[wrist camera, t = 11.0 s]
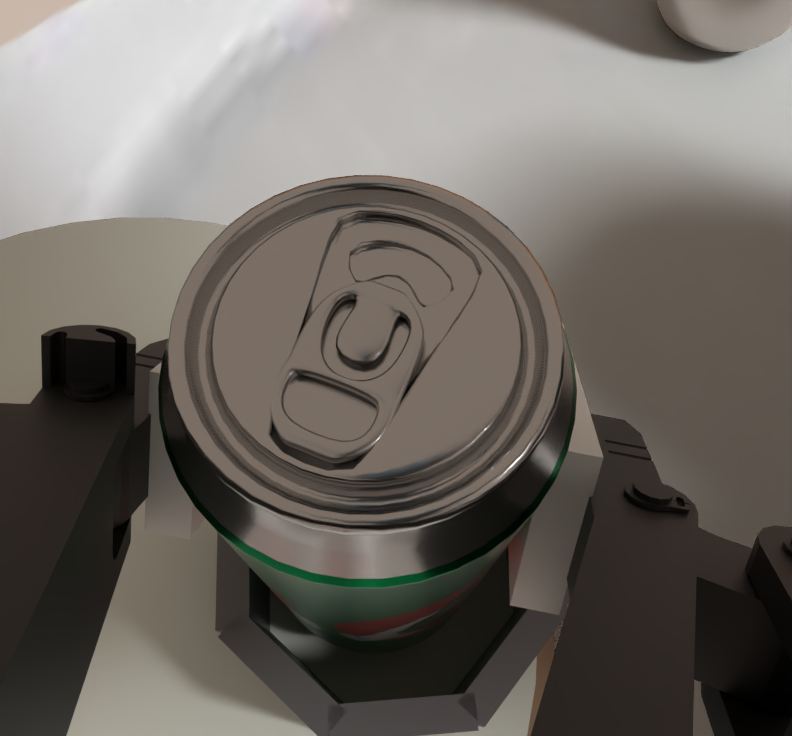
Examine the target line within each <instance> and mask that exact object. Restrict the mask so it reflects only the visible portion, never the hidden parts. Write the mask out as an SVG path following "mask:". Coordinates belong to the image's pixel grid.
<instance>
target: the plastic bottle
mask: <svg viewBox="0 0 792 736" xmlns="http://www.w3.org/2000/svg"><path fill="white" fill-rule="evenodd" d="M656 1H657V4H658V6H659V9H660V12H661V14H662V16H663V19H664V21H665V22H666V23H667V25H668V26H669V27H670V29H671V30H673V31H674V32H675V33H676V34H677V35H678V36H680V37H681V38H683V39H684V40H686V41H688V42H690V43H692V44H694V45H696V46H699V47H702V48H705V49H709V50H714V51H721V52H739V51H746V50H749V49H753V48H756V47H758V46H760V45H762V44H765V43H767V42H769V41H771V40H773V39H775V38H776V37H778V36H780V35H782V34H783V33H784V32H785V31H786V30H787V29H789V28H790V26H791V25H792V0H656Z"/></svg>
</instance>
